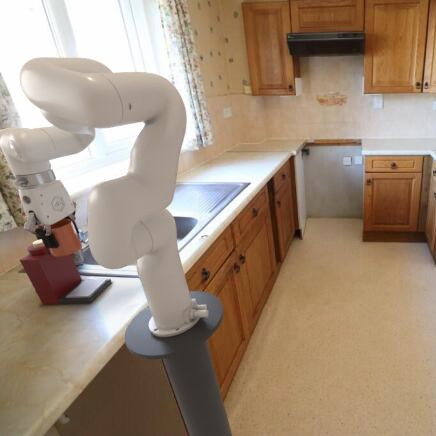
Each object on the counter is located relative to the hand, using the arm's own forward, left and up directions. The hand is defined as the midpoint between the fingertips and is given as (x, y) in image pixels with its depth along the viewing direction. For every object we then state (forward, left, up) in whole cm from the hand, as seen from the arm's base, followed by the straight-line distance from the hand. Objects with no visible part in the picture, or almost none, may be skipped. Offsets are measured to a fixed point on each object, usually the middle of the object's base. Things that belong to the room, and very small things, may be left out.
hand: (63, 240), depth 88 cm
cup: (0, 0, -3) cm, 3 cm away
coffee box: (+20, -19, -19) cm, 34 cm away
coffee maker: (+1, -2, -19) cm, 19 cm away
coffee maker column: (+9, -2, -19) cm, 21 cm away
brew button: (+9, -2, -3) cm, 9 cm away
